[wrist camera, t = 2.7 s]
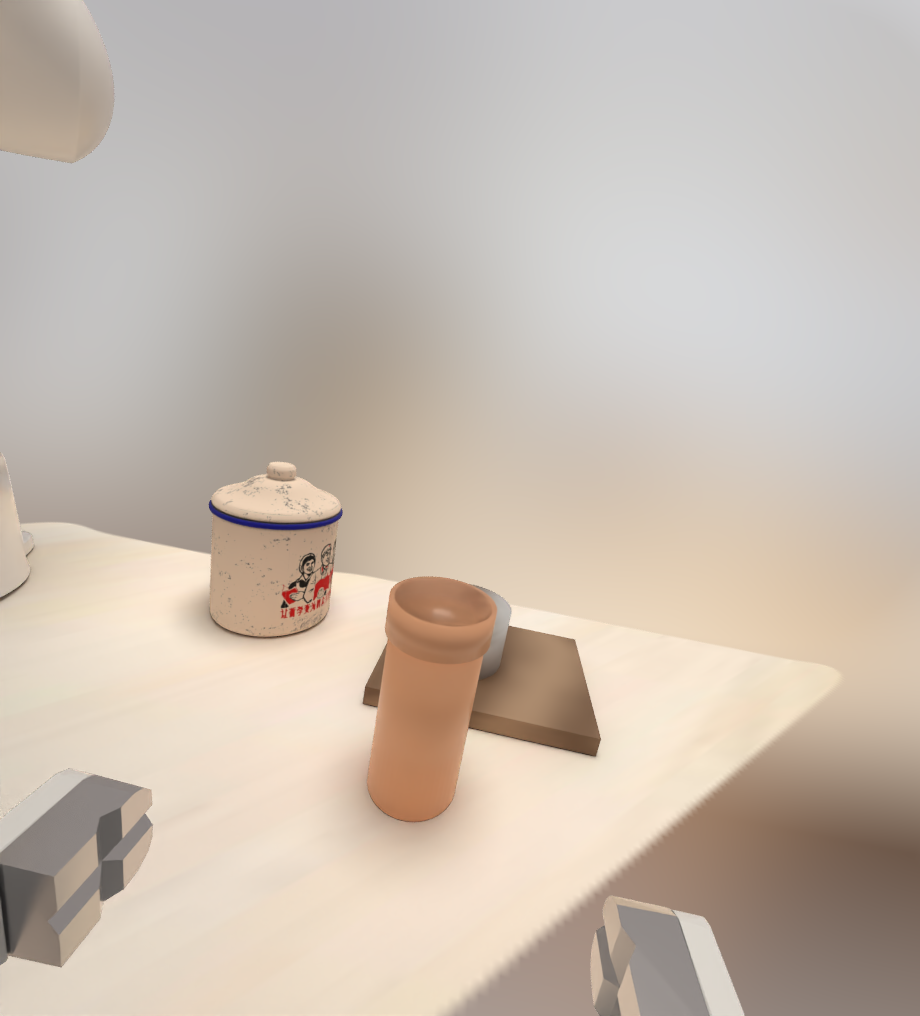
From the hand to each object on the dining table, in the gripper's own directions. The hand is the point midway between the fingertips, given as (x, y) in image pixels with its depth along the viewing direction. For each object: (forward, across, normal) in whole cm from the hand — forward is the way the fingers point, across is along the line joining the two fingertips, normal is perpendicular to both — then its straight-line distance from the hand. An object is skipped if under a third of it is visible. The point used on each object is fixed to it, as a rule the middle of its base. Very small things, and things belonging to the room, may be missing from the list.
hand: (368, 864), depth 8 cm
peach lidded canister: (+12, 0, +11) cm, 16 cm away
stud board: (+22, -2, +11) cm, 25 cm away
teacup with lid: (+26, +14, +11) cm, 32 cm away
